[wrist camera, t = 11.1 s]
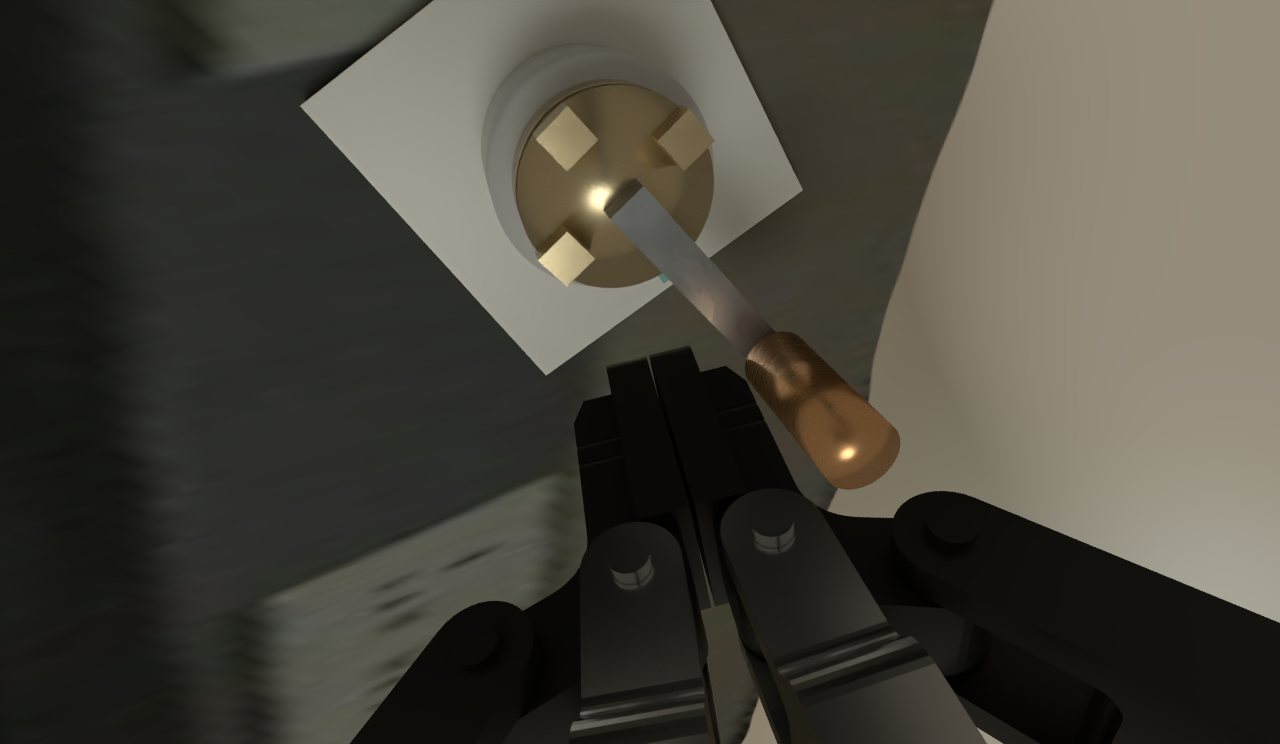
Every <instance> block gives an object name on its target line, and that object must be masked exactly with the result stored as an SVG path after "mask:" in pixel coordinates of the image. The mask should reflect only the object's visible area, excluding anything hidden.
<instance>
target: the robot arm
mask: <svg viewBox="0 0 1280 744" xmlns="http://www.w3.org/2000/svg"><path fill="white" fill-rule="evenodd" d="M649 357H650V362H651V367H652V371H653V376H654V380H655V385H656V389H657V392H656V389H655V385H654V382H653V378H652V375H651V371H650V368H649V364H648V361H647V358H646V356H645V357H641V358H637V359H633V360H629V361H625V362H621V363H617V364H613V365H609V366H606V368H607V374H608V379H609V384H610V389H611V395H607V396H603V397H599V398H595V399H591V400H587V401H583V404H582V406H581V408H580V411H579V413H578V416H577V418H576V420H575V423H574V428H575V436H576V445H577V449H578V450H577V453H578V461H579V467H580V469H579V470H580V478H581V487H582V495H583V504H584V512H585V521H586V529H587V542H588V544H587V550H586V552H585V554H584V556H583V558H582V562H581V565H580V568H579V569H578V570H577V572H576V573H575V575H574V576H573V577H572V578H571V579H570V580H569V581H568V582H567V583H566V584H565V585H564V586H563V587H562V588H560V589H559V590H557V591H556V592H554V593H553V594H551V595H550V596H548V597H546V598H545V599H543V600H541V601H539V602H538V603H536V604H534V605H532V606H531V607H529V608H527V609H525V610H524V611H522V610H521V609H520V608H518V607H516V606H515V605H513V604H510V603H507V602H502V601H487V602H482V603H478V604H475V605H472V606H470V607H468V608H466V609H464V610H462V611H460V612H459V613H457V614H456V615H455V616H453V617H452V618H451V619H450V620H449V621H447V622H446V623H445V624H444V625H443V627H442V628H441V629H440V630H439V631H438V632H437V634H436V635H435V636H434V637H433V639H432V640H431V641H430V643H429V644H428V645H427V646H426V648H425V649H424V650H423V651H422V653H421V654H420V655H419V657H418V658H417V659H416V660H415V662H414V663H413V664H412V665H411V667H410V668H409V669H408V670H407V672H406V673H405V674H404V676H403V677H402V678H401V679H400V681H399V682H398V683H397V684H396V686H395V687H394V688H393V690H392V691H391V692H390V693H389V695H388V696H387V697H386V698H385V700H384V701H383V702H382V703H381V705H380V706H379V707H378V709H377V710H376V711H375V712H374V714H373V715H372V716H371V717H370V719H369V720H368V721H367V723H366V724H365V725H364V726H363V728H362V729H361V730H360V731H359V733H358V734H357V735H356V736H355V738H354V739H353V740H352V742H351V743H350V744H722V742H721V736H720V731H719V725H718V719H717V713H716V707H715V702H714V696H713V690H712V684H711V678H710V673H709V667H708V661H707V656H708V643H707V637H706V633H705V629H704V624H703V620H702V615H701V611H700V610H704V609H708V608H711V605H710V600H709V595H708V591H707V586H706V581H705V576H704V572H703V567H702V562H701V558H702V561H703V565H704V568H705V572H706V575H707V579H708V582H709V586H710V589H711V593H712V596H713V600H714V603H715V606H718V605H722V604H726V603H729V604H730V607H731V610H732V613H733V617H734V620H735V623H736V626H737V630H738V636H739V642H740V647H741V651H742V654H743V657H744V659H745V662H746V664H747V667H748V669H749V672H750V675H751V677H752V680H753V682H754V685H755V687H756V690H757V692H758V695H759V698H760V700H761V703H762V705H763V708H764V710H765V713H766V716H767V718H768V720H769V723H770V726H771V728H772V731H773V733H774V736H775V739H776V741H777V744H987V743H986V742H985V740H984V738H983V737H982V735H981V734H980V732H979V731H978V729H977V728H979V729H981V730H982V731H984V732H986V733H987V734H989V735H990V736H992V737H994V738H995V739H997V740H998V741H1000V742H1002V743H1003V744H1280V623H1279V622H1276V621H1274V620H1271V619H1269V618H1266V617H1264V616H1261V615H1259V614H1256V613H1254V612H1252V611H1249V610H1247V609H1244V608H1242V607H1240V606H1237V605H1235V604H1232V603H1230V602H1227V601H1225V600H1223V599H1220V598H1218V597H1215V596H1213V595H1210V594H1208V593H1205V592H1203V591H1200V590H1198V589H1195V588H1193V587H1191V586H1188V585H1186V584H1183V583H1181V582H1179V581H1176V580H1174V579H1171V578H1169V577H1166V576H1164V575H1161V574H1159V573H1157V572H1154V571H1151V570H1149V569H1147V568H1145V567H1142V566H1140V565H1137V564H1135V563H1132V562H1130V561H1127V560H1125V559H1123V558H1120V557H1118V556H1115V555H1113V554H1110V553H1108V552H1106V551H1103V550H1101V549H1098V548H1096V547H1093V546H1091V545H1089V544H1086V543H1084V542H1081V541H1078V540H1076V539H1073V538H1071V537H1069V536H1066V535H1064V534H1062V533H1059V532H1057V531H1054V530H1052V529H1050V528H1047V527H1045V526H1042V525H1040V524H1037V523H1035V522H1032V521H1030V520H1027V519H1025V518H1023V517H1020V516H1018V515H1015V514H1013V513H1010V512H1008V511H1006V510H1003V509H1001V508H998V507H996V506H993V505H991V504H989V503H986V502H984V501H981V500H979V499H976V498H974V497H971V496H968V495H965V494H961V493H956V492H948V491H934V492H927V493H924V494H920V495H917V496H915V497H912V498H910V499H909V500H907V501H906V502H905V503H903V504H902V505H901V506H900V508H899V509H898V510H897V512H896V514H895V516H894V518H869V517H867V518H866V517H850V516H843V515H838V514H835V513H832V512H829V511H826V510H824V509H822V508H820V507H818V506H816V505H815V504H814V503H813V502H811V501H810V500H809V499H807V498H806V497H805V496H804V495H803V494H802V493H801V492H800V491H799V489H798V487H797V486H796V484H795V482H794V480H793V478H792V476H791V474H790V471H789V469H788V467H787V465H786V463H785V461H784V459H783V457H782V455H781V453H780V451H779V449H778V446H777V444H776V442H775V440H774V438H773V436H772V434H771V432H770V430H769V428H768V426H767V423H766V422H765V421H764V417H763V415H762V413H761V411H760V409H759V407H758V405H757V404H756V401H755V398H754V396H753V394H752V392H751V390H750V388H749V386H748V384H747V382H746V380H744V379H743V378H742V377H740V376H739V375H737V374H736V373H735V372H733V371H732V370H731V369H729V368H728V367H727V366H724V367H720V368H716V369H712V370H708V371H703V372H700V370H699V367H698V365H697V362H696V360H695V357H694V355H693V352H692V350H691V347H690V346H685V347H681V348H677V349H673V350H669V351H665V352H661V353H657V354H653V355H649ZM657 394H658V395H657ZM658 398H659V399H658ZM698 547H699V548H698ZM699 551H700V553H699ZM700 554H701V558H700ZM976 727H977V728H976Z"/></svg>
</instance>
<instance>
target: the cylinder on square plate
mask: <svg viewBox="0 0 1280 744" xmlns="http://www.w3.org/2000/svg"><path fill="white" fill-rule="evenodd" d="M596 79H618V80H625V81H629V82H633V83H636V84H639V85H641V86H644V87H646V88H648V89H650V90H652V91H655V92H657V93H659V94H661V95H663V96H665V97H666V98H668V99H670V100H671V101H673V102H674V103H676V104H677V105H678V106H679V105H680V104H681V105H683V106H685V107H687V108H689V109H690V110H691V111H692V112H693V114H694V115H695V116H696V118H697V119H698V120H699V121H700V123H701V124H702V125H703V126H704V128H705V129H706V130H707V132H708V133H709V134H710V135H711V137H712V138H713V139H714V140H715V141H714V142H713V143H712V144H711V145H710V146H709V147H708V149H709V152H710V155H711V160H712V165H713V173H714V192H713V199H712V204H711V208H710V212H709V215H708V218H707V221H706V223H705V225H704V228H703V230H702V232H701V233H700V235H699V237H698V239H697V240H696V242H695V243H696V245H697V246H698V247H699V248H700V249H701V250H702V251H703V252H704V253H705V254H706V256H707V257H708V258H710V257H711V256H712V255H714V254H715V253H717V252H718V251H719V250H721V249H722V248H723V247H725V246H726V245H728V244H729V243H730V242H732V241H733V240H735V239H736V238H737V237H739V236H740V235H742V234H743V233H744V232H746V231H747V230H748V229H750V228H751V227H753V226H754V225H755V224H757V223H758V222H760V221H761V220H762V219H764V218H765V217H766V216H768V215H769V214H771V213H772V212H773V211H775V210H776V209H778V208H779V207H780V206H782V205H783V204H784V203H786V202H787V201H789V200H790V199H791V198H793V197H794V196H796V195H797V194H798V193H800V192H801V191H803V190H802V188H801V185H800V183H799V181H798V179H797V177H796V175H795V173H794V171H793V169H792V167H791V165H790V163H789V161H788V159H787V157H786V155H785V153H784V151H783V148H782V146H781V144H780V142H779V140H778V138H777V136H776V134H775V132H774V130H773V128H772V126H771V124H770V122H769V120H768V118H767V116H766V113H765V111H764V109H763V107H762V105H761V103H760V101H759V99H758V97H757V95H756V93H755V91H754V89H753V87H752V85H751V83H750V81H749V79H748V76H747V74H746V72H745V70H744V68H743V66H742V64H741V62H740V60H739V58H738V56H737V54H736V52H735V50H734V48H733V46H732V44H731V41H730V39H729V37H728V35H727V33H726V31H725V29H724V27H723V25H722V23H721V21H720V19H719V17H718V15H717V13H716V11H715V9H714V7H713V4H712V2H711V0H433V1H431V2H430V3H429V4H428V5H426V6H425V7H424V8H423V9H421V10H420V11H419V12H418V13H416V14H415V15H414V16H413V17H411V18H410V19H409V20H407V21H406V22H405V23H404V24H402V25H401V26H400V27H399V28H397V29H396V30H395V31H394V32H392V33H391V34H390V35H389V36H387V37H386V38H385V39H383V40H382V41H381V42H380V43H378V44H377V45H376V46H375V47H373V48H372V49H371V50H370V51H368V52H367V53H366V54H365V55H363V56H362V57H361V58H359V59H358V60H357V61H356V62H354V63H353V64H352V65H351V66H349V67H348V68H347V69H346V70H344V71H343V72H342V73H341V74H339V75H338V76H337V77H335V78H334V79H333V80H332V81H330V82H329V83H328V84H327V85H325V86H324V87H323V88H322V89H320V90H319V91H318V92H317V93H315V94H314V95H313V96H311V97H310V98H309V99H308V100H306V101H305V102H304V103H303V104H302V105H301V107H302V109H303V110H304V111H305V112H306V113H307V114H308V115H309V116H310V117H311V118H312V119H313V121H314V122H315V123H316V124H317V125H318V126H319V127H320V128H321V129H322V130H323V132H324V133H325V134H326V135H327V136H328V137H329V138H330V139H331V140H332V141H333V142H334V144H335V145H336V146H337V147H338V148H339V149H340V150H341V151H342V152H343V153H344V155H345V156H346V157H347V158H348V159H349V160H350V161H351V162H352V163H353V164H354V165H355V167H356V168H357V169H358V170H359V171H360V172H361V173H362V174H363V175H364V176H365V178H366V179H367V180H368V181H369V182H370V183H371V184H372V185H373V186H374V187H375V188H376V190H377V191H378V192H379V193H380V194H381V195H382V196H383V197H384V198H385V199H386V201H387V202H388V203H389V204H390V205H391V206H392V207H393V208H394V209H395V210H396V211H397V213H398V214H399V215H400V216H401V217H402V218H403V219H404V220H405V221H406V222H407V224H408V225H409V226H410V227H411V228H412V229H413V230H414V231H415V232H416V233H417V234H418V236H419V237H420V238H421V239H422V240H423V241H424V242H425V243H426V244H427V245H428V247H429V248H430V249H431V250H432V251H433V252H434V253H435V254H436V255H437V256H438V257H439V259H440V260H441V261H442V262H443V263H444V264H445V265H446V266H447V267H448V268H449V270H450V271H451V272H452V273H453V274H454V275H455V276H456V277H457V278H458V279H459V280H460V282H461V283H462V284H463V285H464V286H465V287H466V288H467V289H468V290H469V291H470V293H471V294H472V295H473V296H474V297H475V298H476V299H477V300H478V301H479V302H480V303H481V305H482V306H483V307H484V308H485V309H486V310H487V311H488V312H489V313H490V314H491V316H492V317H493V318H494V319H495V320H496V321H497V322H498V323H499V324H500V325H501V326H502V328H503V329H504V330H505V331H506V332H507V333H508V334H509V335H510V336H511V337H512V339H513V340H514V341H515V342H516V343H517V344H518V345H519V346H520V347H521V348H522V349H523V351H524V352H525V353H526V354H527V355H528V356H529V357H530V358H531V359H532V360H533V362H534V363H535V364H536V365H537V366H538V367H539V368H540V369H541V370H542V371H543V372H544V374H545V375H547V374H549V373H550V372H552V371H553V370H554V369H556V368H557V367H559V366H560V365H561V364H563V363H564V362H565V361H567V360H568V359H570V358H571V357H572V356H574V355H575V354H577V353H578V352H579V351H581V350H582V349H583V348H585V347H586V346H588V345H589V344H590V343H592V342H593V341H595V340H596V339H597V338H599V337H600V336H601V335H603V334H604V333H606V332H607V331H608V330H610V329H611V328H613V327H614V326H615V325H617V324H618V323H620V322H621V321H622V320H624V319H625V318H626V317H628V316H629V315H631V314H632V313H633V312H635V311H636V310H638V309H639V308H640V307H642V306H643V305H644V304H646V303H647V302H649V301H650V300H651V299H653V298H654V297H656V296H657V295H658V294H660V293H661V292H662V291H664V290H665V289H667V288H668V287H669V286H671V285H672V284H673V283H672V282H671V281H670V280H669V279H668V278H667V277H666V276H665V275H664V274H663V273H662V274H661V275H659V276H657V277H655V278H653V279H651V280H649V281H646V282H643V283H640V284H637V285H633V286H629V287H621V288H600V287H593V286H589V285H585V284H581V283H578V282H576V281H574V280H573V281H572V282H571V283H570V284H569V285H568V286H565V285H564V284H563V283H562V282H561V281H560V280H559V279H558V278H557V277H555V276H554V275H553V274H552V273H551V272H550V271H549V270H548V269H547V268H545V267H544V266H543V265H542V264H541V263H540V262H539V261H538V260H537V257H536V254H535V251H536V249H535V248H534V247H533V245H532V243H531V242H530V240H529V238H528V236H527V234H526V232H525V229H524V226H523V224H522V221H521V219H520V216H519V213H518V211H517V208H516V205H515V200H514V196H513V188H512V167H513V161H514V155H515V152H516V148H517V145H518V142H519V140H520V138H521V136H522V133H523V131H524V129H525V128H526V126H527V125H528V123H529V121H530V120H531V118H532V117H533V116H534V115H535V114H536V112H537V111H538V110H539V109H540V108H541V107H542V106H543V105H544V104H545V103H546V102H547V101H548V100H550V99H551V98H552V97H554V96H555V95H557V94H558V93H560V92H561V91H563V90H565V89H567V88H569V87H571V86H573V85H576V84H579V83H582V82H586V81H591V80H596Z"/></svg>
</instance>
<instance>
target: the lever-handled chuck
mask: <svg viewBox="0 0 1280 744" xmlns="http://www.w3.org/2000/svg"><path fill="white" fill-rule="evenodd" d="M714 141H715V140H714V139H713V138H712V137H711V135H710V134H709V133H708V132H707V130H706V129H705V128H704V126H703V125H702V124H701V123H700V121H699V120H698V119H697V118H696V116H695V115H694V114H693V112H692V111H691V110H690V109H689V108H687V107H685V106H683V105H681V104H680V105H679V106H678V105H677V104H676V103H674V102H673V101H671V100H670V99H668V98H666V97H665V96H663V95H661V94H659V93H657V92H655V91H652V90H650V89H648V88H646V87H644V86H641V85H639V84H636V83H633V82H629V81H625V80H618V79H596V80H591V81H586V82H582V83H579V84H576V85H573V86H571V87H569V88H567V89H565V90H563V91H561V92H560V93H558V94H557V95H555V96H554V97H552V98H551V99H550V100H548V101H547V102H546V103H545V104H544V105H543V106H542V107H541V108H540V109H539V110H538V111H537V112H536V114H535V115H534V116H533V117H532V118H531V120H530V121H529V123H528V125H527V126H526V128H525V129H524V131H523V133H522V136H521V138H520V140H519V142H518V145H517V148H516V152H515V155H514V161H513V167H512V188H513V196H514V200H515V205H516V208H517V211H518V213H519V216H520V219H521V221H522V224H523V226H524V229H525V232H526V234H527V236H528V238H529V240H530V242H531V243H532V245H533V247H534V248H535V249H536V251H535V254H536V257H537V260H538V261H539V262H540V263H541V264H542V265H543V266H544V267H545V268H547V269H548V270H549V271H550V272H551V273H552V274H553V275H554V276H555V277H557V278H558V279H559V280H560V281H561V282H562V283H563V284H564V285H565V286H568V285H569V284H570V283H571V282H572V281H573V280H574V281H576V282H578V283H581V284H585V285H589V286H593V287H600V288H621V287H629V286H633V285H637V284H640V283H643V282H646V281H649V280H651V279H653V278H655V277H657V276H659V275H661V274H662V273H663V274H664V275H665V276H666V277H667V278H668V279H669V280H670V281H671V282H672V283H673V284H674V285H675V286H676V287H677V288H678V289H679V290H680V291H681V292H682V293H683V294H684V295H685V296H686V297H687V298H688V299H689V301H690V302H691V303H692V304H693V305H694V306H695V307H696V308H697V309H698V310H699V311H700V312H701V313H702V314H703V315H704V316H705V317H706V318H707V319H708V320H709V321H710V322H711V323H712V324H713V325H714V326H715V327H716V328H717V329H718V330H719V331H720V332H721V333H722V334H723V335H724V336H725V337H726V338H727V339H728V340H729V341H730V342H731V343H732V345H733V346H734V347H735V348H736V349H737V350H738V351H739V352H740V353H741V354H742V355H743V356H744V357H745V358H746V359H747V360H746V364H745V373H746V377H747V379H748V381H749V382H750V383H751V385H752V386H753V387H754V388H755V390H756V391H757V392H758V393H759V395H760V396H761V397H762V398H763V400H764V401H765V402H766V403H767V405H768V406H769V407H770V408H771V410H772V411H773V412H774V413H775V415H776V416H777V417H778V418H779V420H780V421H781V422H782V423H783V425H784V426H785V427H786V428H787V430H788V431H789V432H790V433H791V435H792V436H793V437H794V438H795V440H796V441H797V442H798V443H799V445H800V446H801V447H802V448H803V450H804V451H805V452H806V453H807V455H808V456H809V457H810V458H811V460H812V461H813V462H814V463H815V465H816V466H817V467H818V468H819V470H820V471H821V472H822V473H823V475H824V476H825V477H826V478H827V480H828V481H829V482H830V483H831V484H832V485H833V486H835V487H837V488H840V489H849V490H850V489H857V488H861V487H864V486H866V485H869V484H871V483H873V482H874V481H876V480H877V479H879V478H880V477H881V476H882V475H884V474H885V473H886V472H887V471H888V470H889V468H890V467H891V466H892V464H893V463H894V461H895V460H896V457H897V455H898V452H899V449H900V437H899V434H898V432H897V430H896V429H895V428H894V427H893V426H892V425H891V424H890V423H889V422H888V421H887V420H886V419H885V418H884V417H883V416H882V415H881V414H880V413H879V412H877V411H876V410H875V409H874V408H873V407H872V406H871V405H870V404H869V403H868V402H867V401H866V400H865V399H864V398H863V397H862V396H861V395H860V394H859V393H858V392H857V391H856V390H855V389H853V388H852V387H851V386H850V385H849V384H848V383H847V382H846V381H845V380H844V379H843V378H842V377H841V376H840V375H839V374H838V373H837V372H836V371H835V370H834V369H833V368H832V367H831V366H829V365H828V364H827V363H826V362H825V361H824V360H823V359H822V358H821V357H820V356H819V355H818V354H817V353H816V352H815V351H814V350H813V349H812V348H811V347H810V346H809V345H808V344H806V343H805V342H804V341H803V340H802V339H801V338H800V337H799V336H798V335H796V334H794V333H791V332H775V331H774V330H773V329H772V327H771V326H770V325H769V324H768V323H767V322H766V321H765V320H764V319H763V318H762V316H761V315H760V314H759V313H758V312H757V311H756V310H755V309H754V308H753V306H752V305H751V304H750V303H749V302H748V301H747V300H746V299H745V298H744V296H743V295H742V294H741V293H740V292H739V291H738V290H737V289H736V288H735V287H734V285H733V284H732V283H731V282H730V281H729V280H728V279H727V278H726V277H725V275H724V274H723V273H722V272H721V271H720V270H719V269H718V268H717V267H716V266H715V264H714V263H713V262H712V261H711V260H710V259H709V258H708V257H707V256H706V254H705V253H704V252H703V251H702V250H701V249H700V248H699V247H698V246H697V245H696V243H695V242H696V240H697V239H698V237H699V235H700V233H701V232H702V230H703V228H704V225H705V223H706V221H707V218H708V215H709V212H710V208H711V204H712V199H713V192H714V173H713V165H712V160H711V155H710V152H709V149H708V147H709V146H710V145H711V144H712V143H713V142H714Z"/></svg>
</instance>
